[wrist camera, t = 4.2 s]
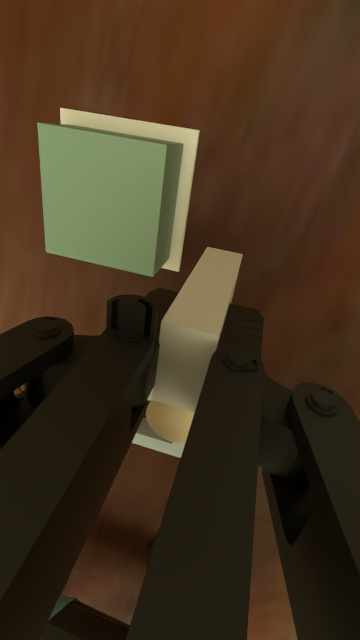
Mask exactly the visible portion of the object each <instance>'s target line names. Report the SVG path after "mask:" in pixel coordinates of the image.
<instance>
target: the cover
mask: <svg viewBox="0 0 360 640" xmlns="http://www.w3.org/2000/svg"><path fill="white" fill-rule="evenodd" d="M37 124H38V139H39V154H40V169H41V184H42V200H43V215H44V230H45V245H46V252H48V253H52V254H56V255H60V256H65V257H69V258H73V259H78V260H82V261H86V262H91V263H95V264H99V265H103V266H108V267H112V268H116V269H121V270H125V271H129V272H134V273H138V274H142V275H146V276H151V277H153V276H154V275H155V274H156V273H157V272H158V271H159V270H160V268H161V267H162V266H163V265H164V264H165V263H166V262H167V261H168V259H169V255H170V248H171V240H172V232H173V224H174V216H175V208H176V201H177V193H178V185H179V177H180V169H181V161H182V154H183V146H184V144H183V143H177V142H171V141H165V140H159V139H154V138H148V137H142V136H136V135H130V134H124V133H118V132H112V131H107V130H101V129H95V128H89V127H83V126H77V125H69V124H53V123H37Z"/></svg>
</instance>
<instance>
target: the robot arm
mask: <svg viewBox="0 0 360 640" xmlns="http://www.w3.org/2000/svg"><path fill="white" fill-rule="evenodd" d="M242 256H243V254H239V253H234V252H230V251H225V250H220V249H216V248H211V247H207V248H206V250H205V251H204V253H203V255H202V256H201V258H200V260H199V261H198V263H197V264H196V266H195V268H194V269H193V271H192V272H191V274H190V276H189V277H188V279H187V280H186V282H185V284H184V285H183V287H182V289H181V290H180V292H175V291H171V290H166V289H162V288H158V289H156V290H153V291H151V292H149V293H148V294H147V296H146V297H142V296H137V295H120V296H116V297H113V298H111V299H110V300H108V301H107V328H106V330H105V331H104V332H103V333H102V334H101V335H100V336H87V335H74V329H73V327H72V324H71V323H69V322H68V321H67V320H65V319H61V318H58V317H40V318H35V319H32V320H29V321H27V322H25V323H23V324H20V325H18V326H16V327H14V328H12V329H10V330H8V331H6V332H4V333H2V334H0V640H247V628H248V612H249V596H250V581H251V565H252V549H253V534H254V518H255V503H256V487H257V471H258V465H259V466H261V467H262V476H263V480H264V485H265V490H266V494H267V499H268V504H269V508H270V513H271V518H272V522H273V527H274V532H275V536H276V541H277V545H278V550H279V555H280V559H281V564H282V569H283V573H284V578H285V583H286V587H287V592H288V597H289V601H290V606H291V610H292V615H293V620H294V624H295V629H296V634H297V638H298V640H360V422H359V421H358V419H357V417H356V415H355V414H354V412H353V410H352V408H351V407H350V405H349V404H348V403H347V402H346V400H345V399H344V398H343V397H342V396H340V395H339V394H338V393H336V392H335V391H333V390H331V389H329V388H327V387H325V386H322V385H318V384H314V383H302V384H300V385H298V386H296V387H295V388H294V390H293V391H292V390H290V389H288V388H286V387H284V386H282V385H280V384H278V383H277V382H275V381H273V380H272V379H271V378H270V377H268V376H267V374H266V373H265V372H264V367H263V363H262V362H261V347H262V334H263V321H264V318H263V317H262V315H261V314H260V312H259V311H258V310H255V309H251V308H247V307H243V306H238V305H234V304H231V301H232V297H233V293H234V289H235V285H236V280H237V276H238V272H239V268H240V264H241V260H242ZM23 384H24V386H25V390H24V391H23V392H21V393H19V394H17V395H14V390H16V389H17V388H19V387H20V386H22V385H23ZM152 389H153V391H152ZM151 391H152V399H151V400H154V401H157V402H161V403H164V404H168V405H171V406H174V407H178V408H181V409H185V410H188V411H192V412H195V413H194V416H193V419H192V423H191V426H190V429H189V433H188V436H187V439H186V443H185V446H184V449H183V452H182V456H181V459H180V462H179V466H178V469H177V472H176V476H175V479H174V482H173V486H172V489H171V492H170V495H169V499H168V502H167V505H166V509H165V512H164V515H163V519H162V522H161V525H160V528H159V532H158V535H157V538H156V540H155V541H154V542H153V544H152V546H151V549H150V552H149V555H148V559H147V566H146V575H145V578H144V581H143V585H142V588H141V591H140V595H139V598H138V601H137V605H136V608H135V611H134V614H133V618H132V621H131V624H130V625H128V624H126V623H124V622H122V621H120V620H117V619H115V618H113V617H111V616H109V615H107V614H105V613H102V612H100V611H98V610H96V609H94V608H92V607H90V606H88V605H86V604H84V603H82V602H80V601H78V599H77V598H75V597H68V596H65V595H62V594H61V592H62V590H63V588H64V586H65V584H66V582H67V580H68V577H69V575H70V573H71V571H72V569H73V567H74V565H75V562H76V560H77V558H78V556H79V554H80V552H81V550H82V548H83V545H84V543H85V541H86V539H87V537H88V535H89V533H90V530H91V528H92V526H93V524H94V522H95V520H96V518H97V516H98V513H99V511H100V509H101V507H102V505H103V503H104V501H105V498H106V496H107V494H108V492H109V490H110V488H111V486H112V483H113V481H114V479H115V477H116V475H117V473H118V471H119V469H120V466H121V464H122V462H123V460H124V458H125V456H126V454H127V451H128V449H129V447H130V445H131V443H132V441H133V439H134V437H135V434H136V432H137V430H138V428H139V426H140V424H141V422H142V419H143V417H144V415H145V413H146V408H147V400H148V397H149V395H150V393H151Z"/></svg>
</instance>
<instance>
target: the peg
mask: <svg viewBox="0 0 360 640" xmlns="http://www.w3.org/2000/svg"><path fill="white" fill-rule="evenodd" d="M194 413H195V412H192V411H188V410H185V409H181V408H178V407H174V406H171V405H168V404H164V403H161V402H157V401H154V400H151V401H150V403H149V405H148V408H147V410H146V419H147V422H148V424H149V426H150V427H151V429H152V430H153V431H154V432H155V433H156V434H158V435H159V436H160V437H162V438H164V439H166V440H168V441H171V442H176V443H186V439H187V436H188V433H189V429H190V426H191V423H192V419H193V416H194Z"/></svg>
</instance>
